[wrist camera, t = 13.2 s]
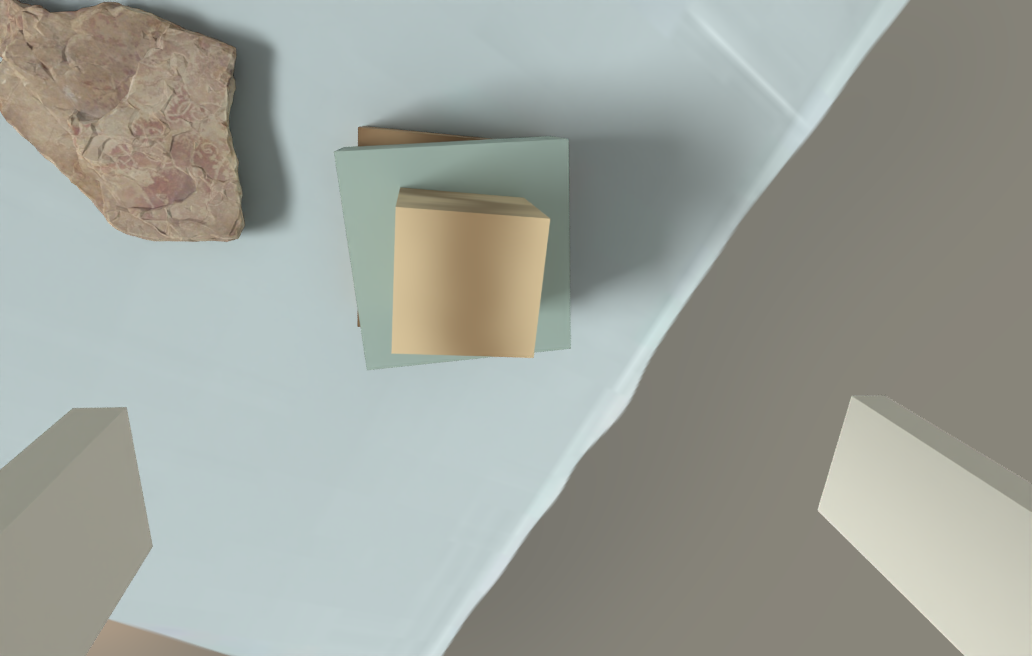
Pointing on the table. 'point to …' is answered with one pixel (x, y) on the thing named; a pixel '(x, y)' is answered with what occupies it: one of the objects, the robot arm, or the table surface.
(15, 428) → the table surface
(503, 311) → the oak block
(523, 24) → the table surface
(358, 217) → the tower top
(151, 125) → the stone
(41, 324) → the table surface
